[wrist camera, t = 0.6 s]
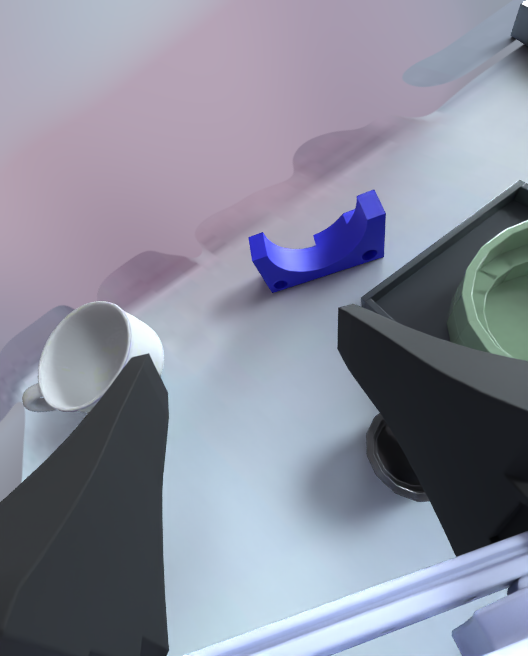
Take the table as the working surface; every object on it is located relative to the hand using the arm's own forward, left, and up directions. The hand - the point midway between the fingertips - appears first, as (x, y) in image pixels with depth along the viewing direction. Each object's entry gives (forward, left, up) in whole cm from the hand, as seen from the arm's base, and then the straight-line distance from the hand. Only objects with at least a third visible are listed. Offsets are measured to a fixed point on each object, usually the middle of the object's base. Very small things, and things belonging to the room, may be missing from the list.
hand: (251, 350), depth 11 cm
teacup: (+16, +16, -17) cm, 28 cm away
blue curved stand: (+13, -10, -17) cm, 23 cm away
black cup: (-6, -4, -16) cm, 18 cm away
